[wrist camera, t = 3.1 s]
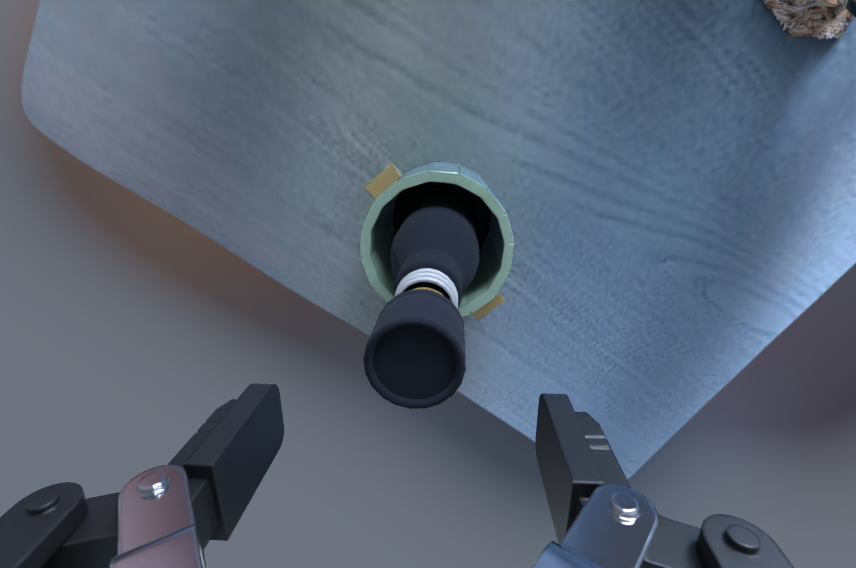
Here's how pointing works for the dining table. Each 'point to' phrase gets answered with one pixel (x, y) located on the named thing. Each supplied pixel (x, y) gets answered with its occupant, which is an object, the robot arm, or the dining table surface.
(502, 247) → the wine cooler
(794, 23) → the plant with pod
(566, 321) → the dining table surface
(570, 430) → the robot arm
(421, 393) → the wine bottle
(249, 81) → the dining table surface
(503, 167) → the dining table surface
